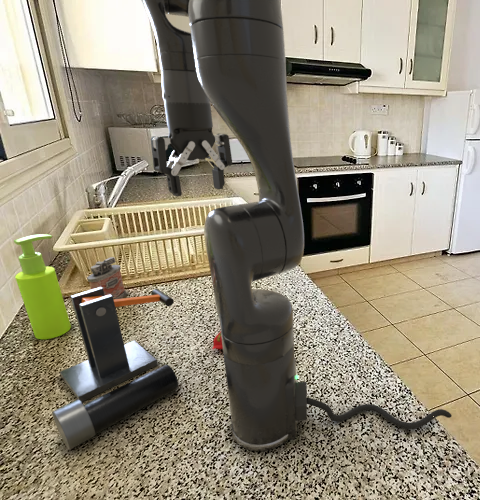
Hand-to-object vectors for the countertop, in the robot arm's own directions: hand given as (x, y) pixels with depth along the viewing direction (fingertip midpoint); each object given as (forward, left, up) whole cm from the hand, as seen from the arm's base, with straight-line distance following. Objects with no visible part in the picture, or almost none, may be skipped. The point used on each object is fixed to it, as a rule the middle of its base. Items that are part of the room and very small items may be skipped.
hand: (198, 192), depth 71 cm
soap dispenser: (+31, +2, -28) cm, 42 cm away
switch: (+11, +13, -18) cm, 24 cm away
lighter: (+26, -10, -28) cm, 40 cm away
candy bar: (-6, +5, -28) cm, 29 cm away
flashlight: (+7, +26, -28) cm, 39 cm away
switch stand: (+14, +16, -28) cm, 35 cm away
